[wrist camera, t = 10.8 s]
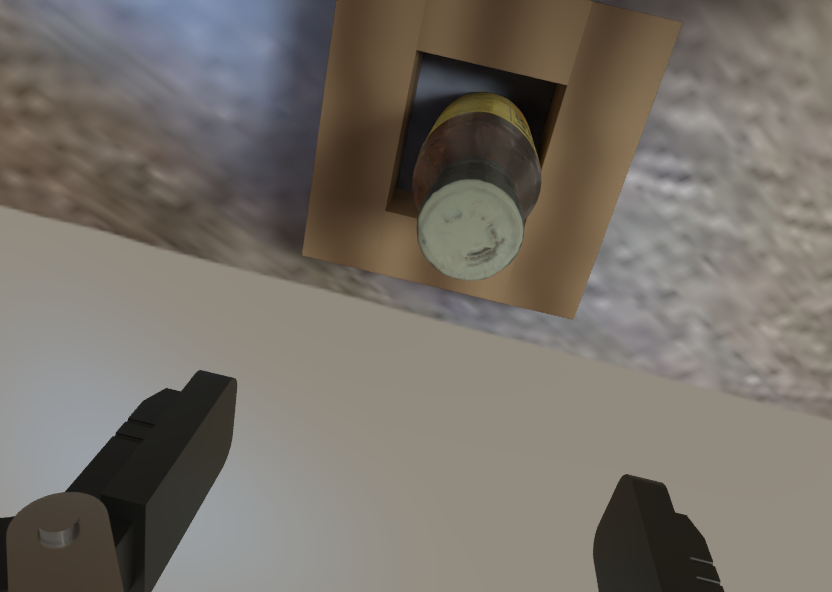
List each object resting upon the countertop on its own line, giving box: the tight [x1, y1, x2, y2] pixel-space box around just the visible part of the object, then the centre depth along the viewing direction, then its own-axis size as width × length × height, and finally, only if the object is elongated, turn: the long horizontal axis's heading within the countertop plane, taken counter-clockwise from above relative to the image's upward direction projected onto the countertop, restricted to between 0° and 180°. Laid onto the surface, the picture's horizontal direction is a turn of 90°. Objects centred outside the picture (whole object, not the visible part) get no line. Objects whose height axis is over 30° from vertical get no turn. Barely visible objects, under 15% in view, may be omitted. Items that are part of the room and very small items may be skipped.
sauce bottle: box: [412, 92, 542, 281], centre depth 32 cm, size 7×6×20 cm
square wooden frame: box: [302, 0, 683, 320], centre depth 39 cm, size 18×18×5 cm
